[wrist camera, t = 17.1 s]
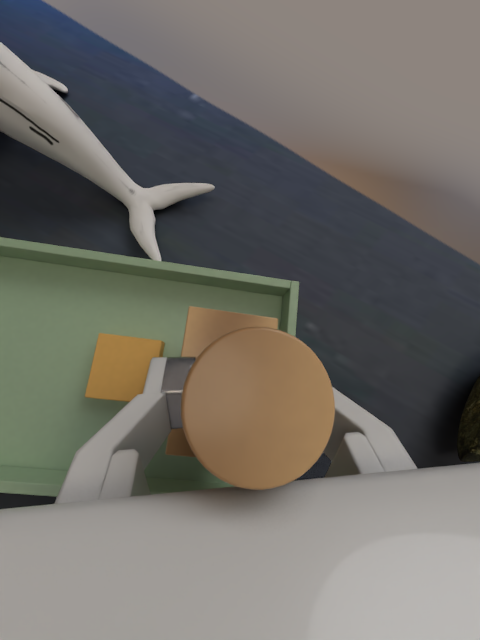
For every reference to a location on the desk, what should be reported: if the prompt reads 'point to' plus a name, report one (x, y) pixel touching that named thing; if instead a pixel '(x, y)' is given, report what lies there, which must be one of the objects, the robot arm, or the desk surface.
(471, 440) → the decorative stone
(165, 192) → the dolphin figurine
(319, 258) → the desk surface
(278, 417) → the wooden peg on base
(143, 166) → the desk surface
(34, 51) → the desk surface
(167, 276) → the tray
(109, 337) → the orange block
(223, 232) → the desk surface
